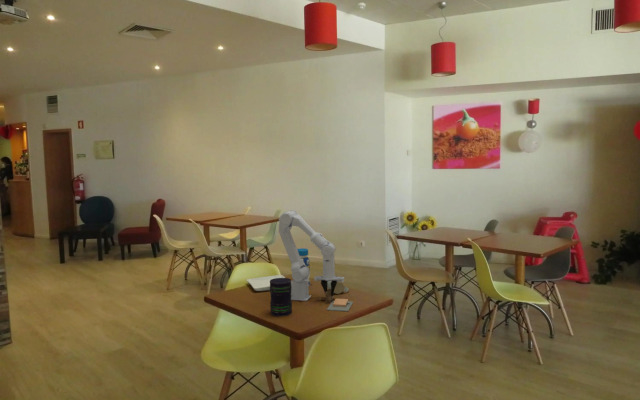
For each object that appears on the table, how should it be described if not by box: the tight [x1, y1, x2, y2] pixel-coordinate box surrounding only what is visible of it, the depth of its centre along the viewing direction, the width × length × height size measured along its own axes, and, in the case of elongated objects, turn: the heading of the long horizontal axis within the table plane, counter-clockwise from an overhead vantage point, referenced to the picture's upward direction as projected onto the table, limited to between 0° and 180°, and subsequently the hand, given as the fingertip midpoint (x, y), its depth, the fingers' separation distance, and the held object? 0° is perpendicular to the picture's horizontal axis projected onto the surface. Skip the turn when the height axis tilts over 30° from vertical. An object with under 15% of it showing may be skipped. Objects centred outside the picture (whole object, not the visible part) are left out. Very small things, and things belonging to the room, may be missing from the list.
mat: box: [326, 299, 354, 312], centre depth 222 cm, size 10×14×1 cm
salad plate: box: [246, 274, 286, 292], centre depth 259 cm, size 21×21×3 cm
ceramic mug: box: [327, 281, 350, 295], centre depth 245 cm, size 11×8×8 cm
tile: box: [333, 298, 349, 307], centre depth 222 cm, size 6×1×6 cm
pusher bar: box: [324, 288, 334, 304], centre depth 231 cm, size 2×7×5 cm, turn 167°
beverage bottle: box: [297, 247, 311, 287], centre depth 259 cm, size 8×8×20 cm
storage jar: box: [269, 277, 293, 317], centre depth 213 cm, size 10×10×15 cm
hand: (329, 295), depth 231 cm, fingers closed on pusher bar, 2 cm apart
